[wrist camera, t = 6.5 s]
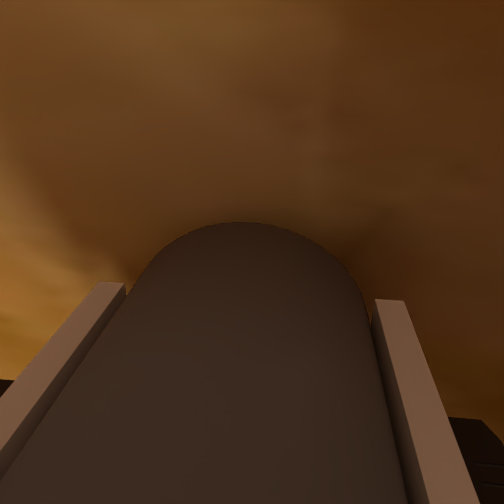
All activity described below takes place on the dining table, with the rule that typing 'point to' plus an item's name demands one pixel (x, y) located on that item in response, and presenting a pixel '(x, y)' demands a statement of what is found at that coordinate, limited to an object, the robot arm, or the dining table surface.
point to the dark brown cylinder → (223, 387)
